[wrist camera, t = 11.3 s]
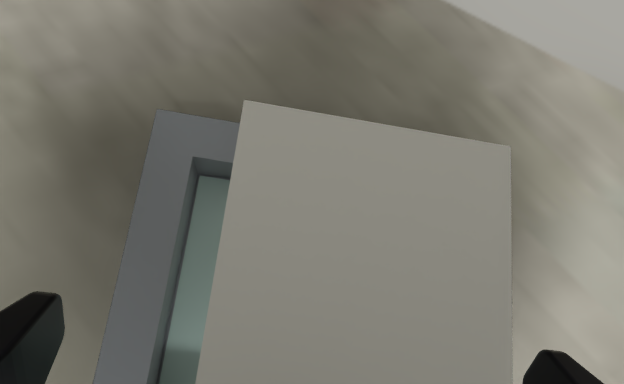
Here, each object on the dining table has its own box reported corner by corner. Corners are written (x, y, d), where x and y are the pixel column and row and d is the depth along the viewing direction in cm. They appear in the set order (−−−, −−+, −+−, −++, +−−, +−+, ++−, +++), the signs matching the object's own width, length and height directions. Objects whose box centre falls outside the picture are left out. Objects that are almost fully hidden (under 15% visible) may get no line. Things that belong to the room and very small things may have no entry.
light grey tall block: (336, 356, 16) (516, 446, 6) (221, 343, 16) (184, 417, 5) (346, 244, 17) (514, 143, 7) (240, 229, 17) (240, 95, 6)
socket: (414, 465, 16) (445, 493, 14) (100, 439, 15) (74, 464, 12) (429, 178, 19) (455, 160, 17) (168, 135, 18) (157, 108, 15)
